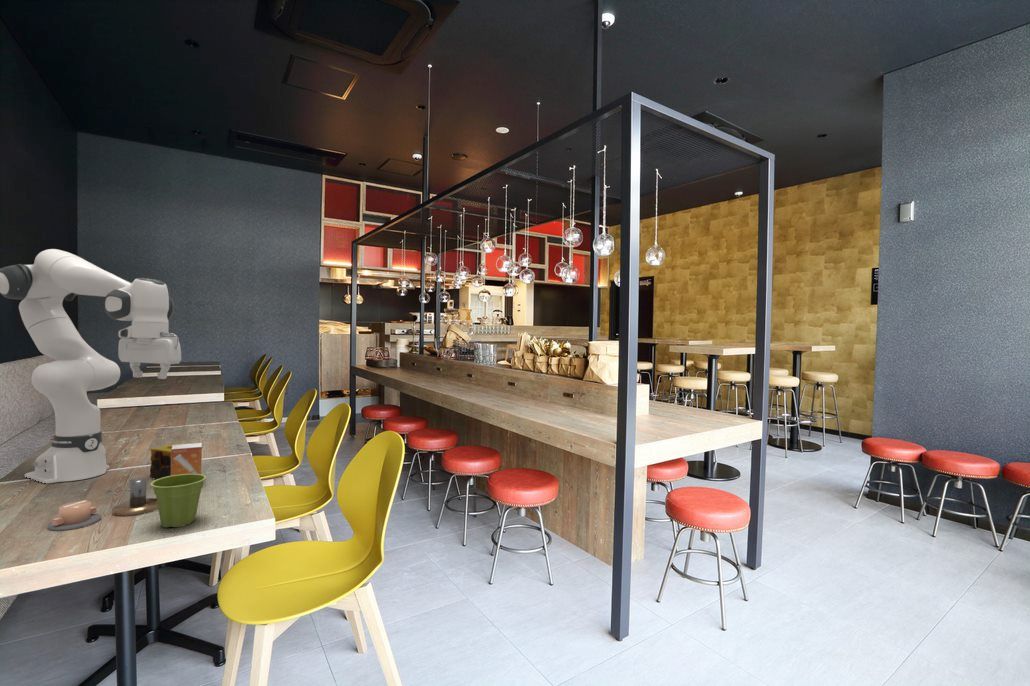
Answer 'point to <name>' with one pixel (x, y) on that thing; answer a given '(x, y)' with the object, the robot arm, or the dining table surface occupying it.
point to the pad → (92, 520)
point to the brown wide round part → (136, 500)
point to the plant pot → (178, 498)
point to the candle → (161, 461)
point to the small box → (186, 459)
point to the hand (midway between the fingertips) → (149, 378)
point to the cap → (74, 513)
